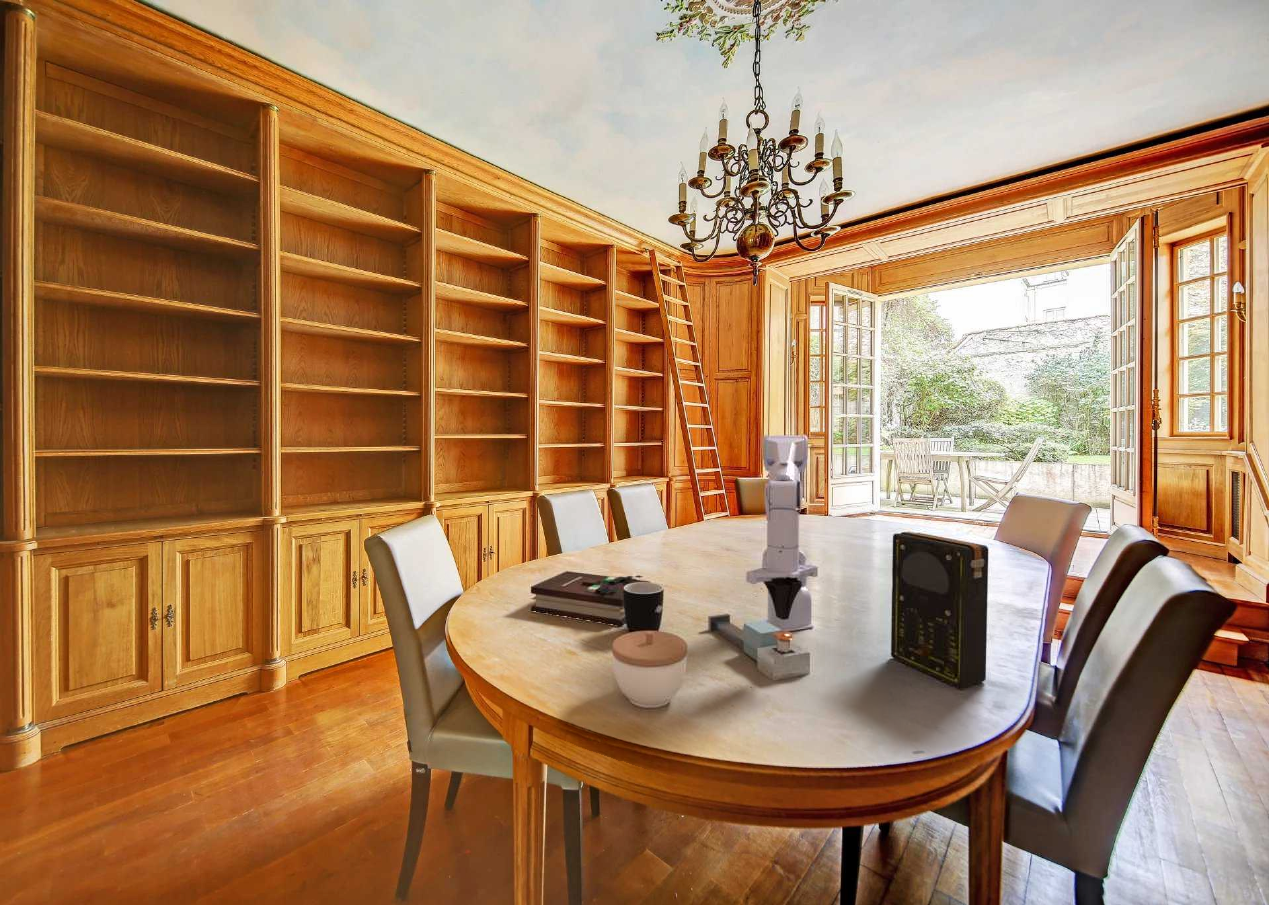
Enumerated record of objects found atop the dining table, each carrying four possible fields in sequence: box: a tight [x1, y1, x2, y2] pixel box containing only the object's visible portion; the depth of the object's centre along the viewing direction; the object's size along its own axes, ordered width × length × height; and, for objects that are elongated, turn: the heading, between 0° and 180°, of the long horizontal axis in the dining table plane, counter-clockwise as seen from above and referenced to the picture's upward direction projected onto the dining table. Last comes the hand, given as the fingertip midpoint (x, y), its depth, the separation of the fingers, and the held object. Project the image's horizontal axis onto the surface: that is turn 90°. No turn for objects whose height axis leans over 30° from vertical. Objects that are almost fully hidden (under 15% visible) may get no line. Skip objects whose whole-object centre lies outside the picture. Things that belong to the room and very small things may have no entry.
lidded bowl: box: [611, 630, 688, 709], centre depth 90 cm, size 13×13×11 cm
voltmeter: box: [890, 531, 989, 690], centre depth 99 cm, size 16×9×25 cm, turn 23°
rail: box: [707, 613, 744, 651], centre depth 112 cm, size 5×22×3 cm, turn 21°
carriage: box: [743, 620, 782, 661], centre depth 106 cm, size 5×6×6 cm
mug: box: [623, 582, 664, 633], centre depth 121 cm, size 12×9×10 cm
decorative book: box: [530, 571, 651, 627], centre depth 136 cm, size 19×8×30 cm
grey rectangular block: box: [756, 641, 811, 681], centre depth 99 cm, size 8×5×4 cm, turn 111°
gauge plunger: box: [775, 631, 794, 655], centre depth 99 cm, size 3×3×5 cm
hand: (782, 617), depth 99 cm, fingers closed
